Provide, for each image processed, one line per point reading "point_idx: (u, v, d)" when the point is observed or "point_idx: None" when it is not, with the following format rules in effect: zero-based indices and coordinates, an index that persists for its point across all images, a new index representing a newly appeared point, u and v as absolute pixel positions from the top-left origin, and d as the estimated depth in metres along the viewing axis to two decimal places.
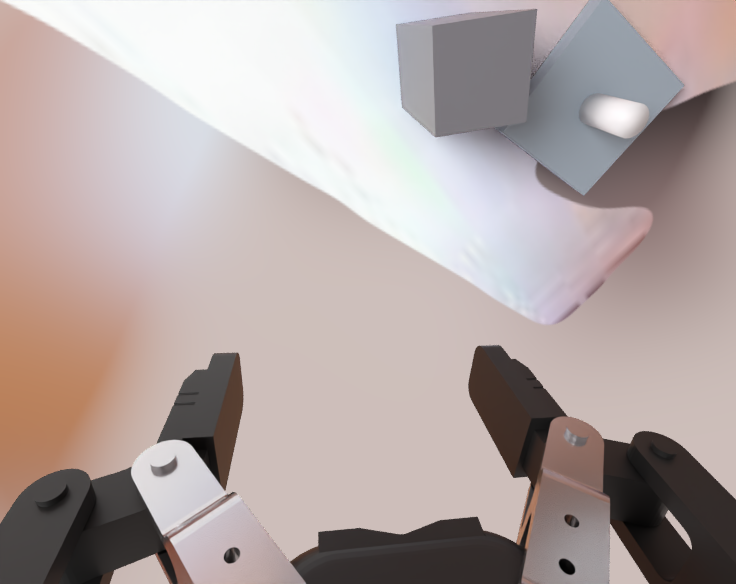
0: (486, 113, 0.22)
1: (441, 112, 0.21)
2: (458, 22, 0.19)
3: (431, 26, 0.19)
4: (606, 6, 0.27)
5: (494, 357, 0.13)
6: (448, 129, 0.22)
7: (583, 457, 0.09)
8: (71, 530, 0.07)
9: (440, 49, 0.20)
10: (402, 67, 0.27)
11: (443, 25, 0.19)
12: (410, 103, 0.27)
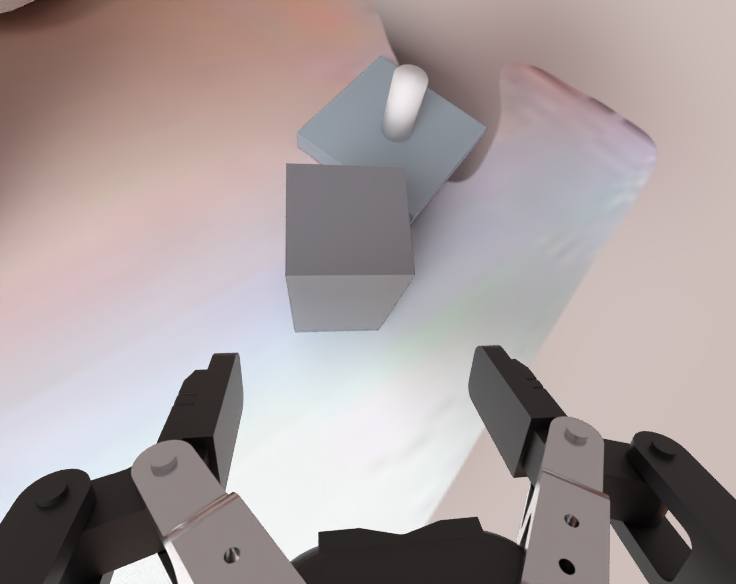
0: (390, 212, 0.17)
1: (384, 266, 0.16)
2: (286, 245, 0.16)
3: (286, 277, 0.16)
4: (305, 129, 0.28)
5: (494, 357, 0.13)
6: (406, 258, 0.16)
7: (583, 457, 0.09)
8: (71, 530, 0.07)
9: (312, 266, 0.16)
10: (336, 326, 0.24)
11: (287, 262, 0.16)
12: (374, 316, 0.22)
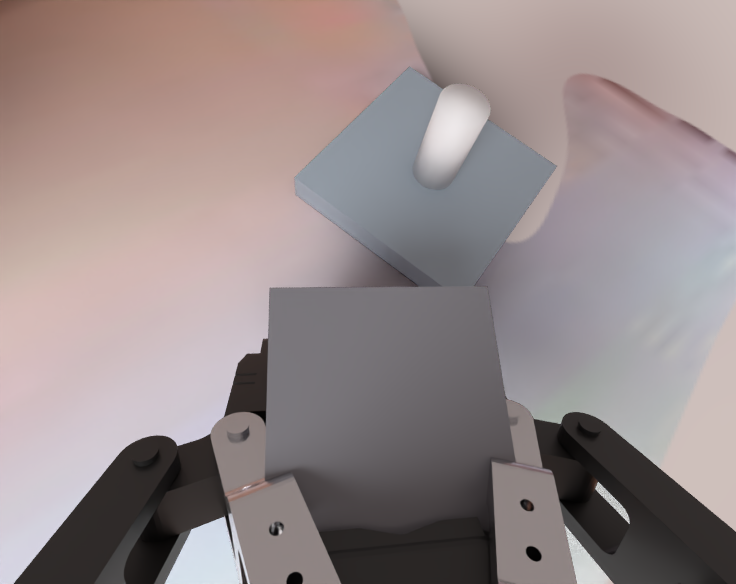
0: (469, 383, 0.09)
1: (465, 512, 0.08)
2: (266, 476, 0.08)
3: None
4: (306, 173, 0.19)
5: None
6: None
7: None
8: (154, 493, 0.08)
9: (319, 525, 0.08)
10: None
11: None
12: None
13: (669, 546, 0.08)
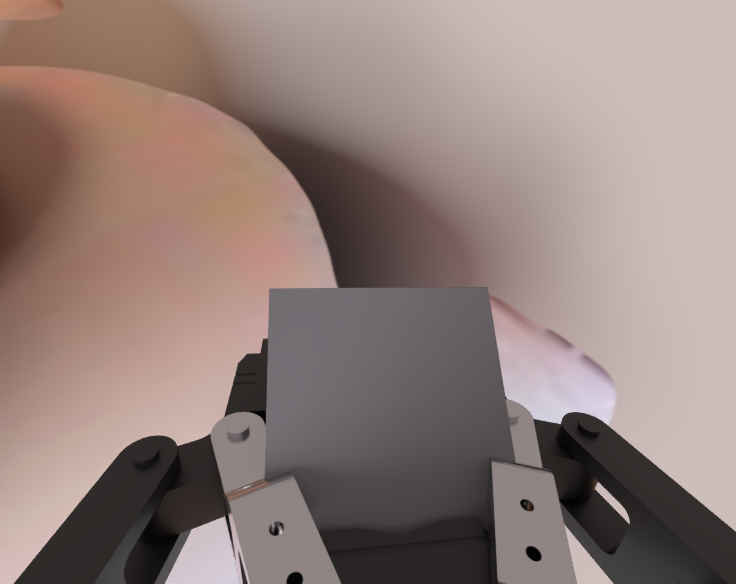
0: (469, 384, 0.09)
1: (465, 513, 0.08)
2: (266, 477, 0.08)
3: None
4: None
5: None
6: None
7: None
8: (154, 493, 0.08)
9: (319, 526, 0.08)
10: None
11: None
12: None
13: (669, 546, 0.08)
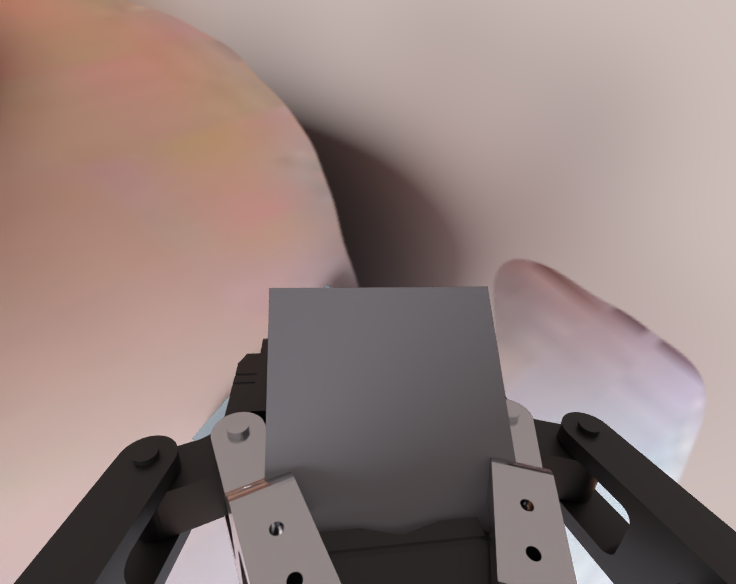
0: (469, 384, 0.09)
1: (466, 513, 0.08)
2: (266, 477, 0.08)
3: None
4: (205, 432, 0.19)
5: None
6: None
7: None
8: (154, 493, 0.08)
9: (319, 526, 0.08)
10: None
11: None
12: None
13: (669, 546, 0.08)
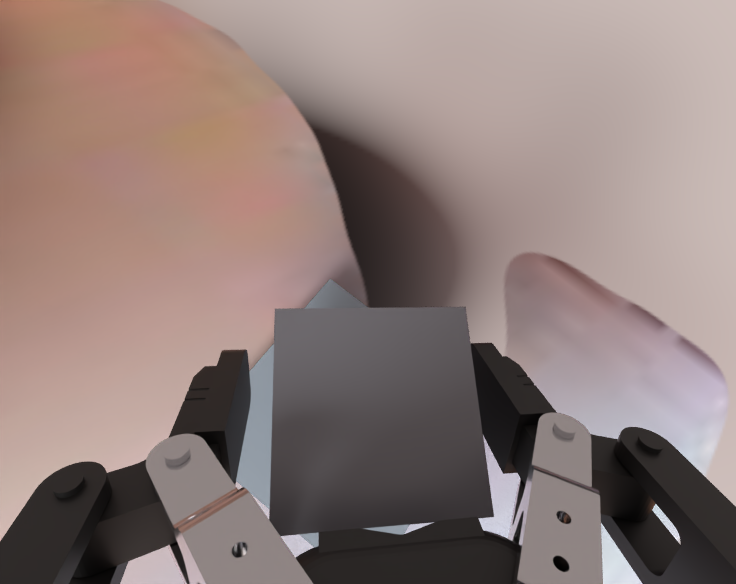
0: (447, 392, 0.10)
1: (441, 503, 0.09)
2: (272, 471, 0.09)
3: None
4: None
5: (485, 354, 0.13)
6: (477, 483, 0.10)
7: (570, 452, 0.09)
8: (86, 522, 0.07)
9: (316, 513, 0.09)
10: None
11: (272, 508, 0.09)
12: None
13: (720, 573, 0.07)
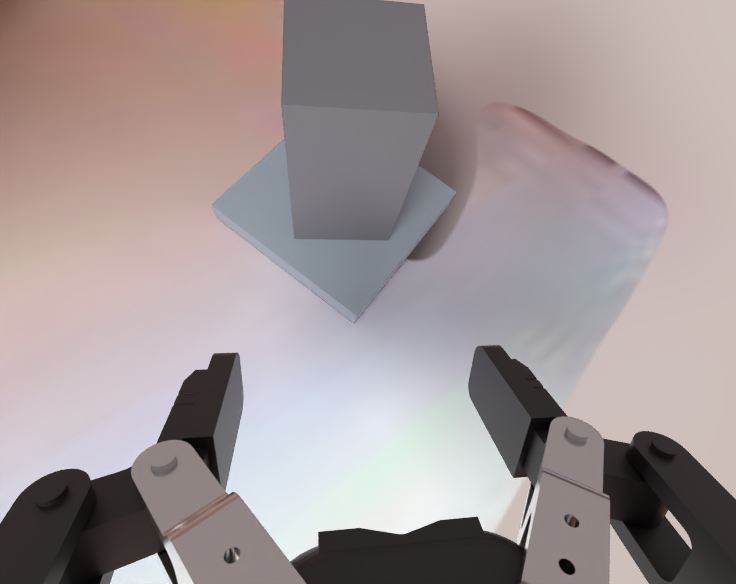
0: (408, 48, 0.14)
1: (402, 103, 0.13)
2: (283, 73, 0.13)
3: (283, 108, 0.13)
4: (223, 201, 0.22)
5: (494, 357, 0.13)
6: (427, 96, 0.14)
7: (583, 457, 0.09)
8: (71, 530, 0.07)
9: (314, 97, 0.13)
10: (341, 229, 0.21)
11: (283, 90, 0.13)
12: (384, 210, 0.19)
13: (731, 580, 0.07)
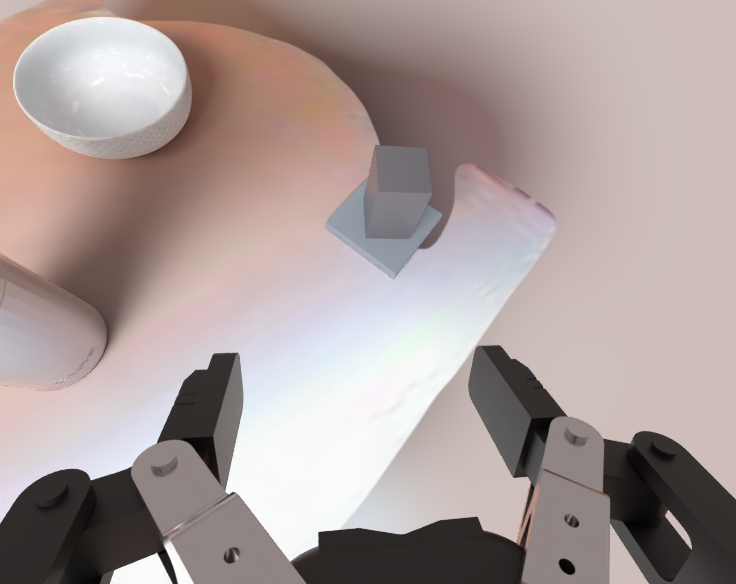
0: (421, 167, 0.38)
1: (419, 189, 0.37)
2: (377, 179, 0.37)
3: (378, 192, 0.37)
4: (331, 220, 0.46)
5: (494, 357, 0.13)
6: (428, 186, 0.38)
7: (583, 457, 0.09)
8: (71, 530, 0.07)
9: (389, 188, 0.37)
10: (388, 233, 0.45)
11: (378, 186, 0.37)
12: (409, 225, 0.43)
13: (731, 580, 0.07)
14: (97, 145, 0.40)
